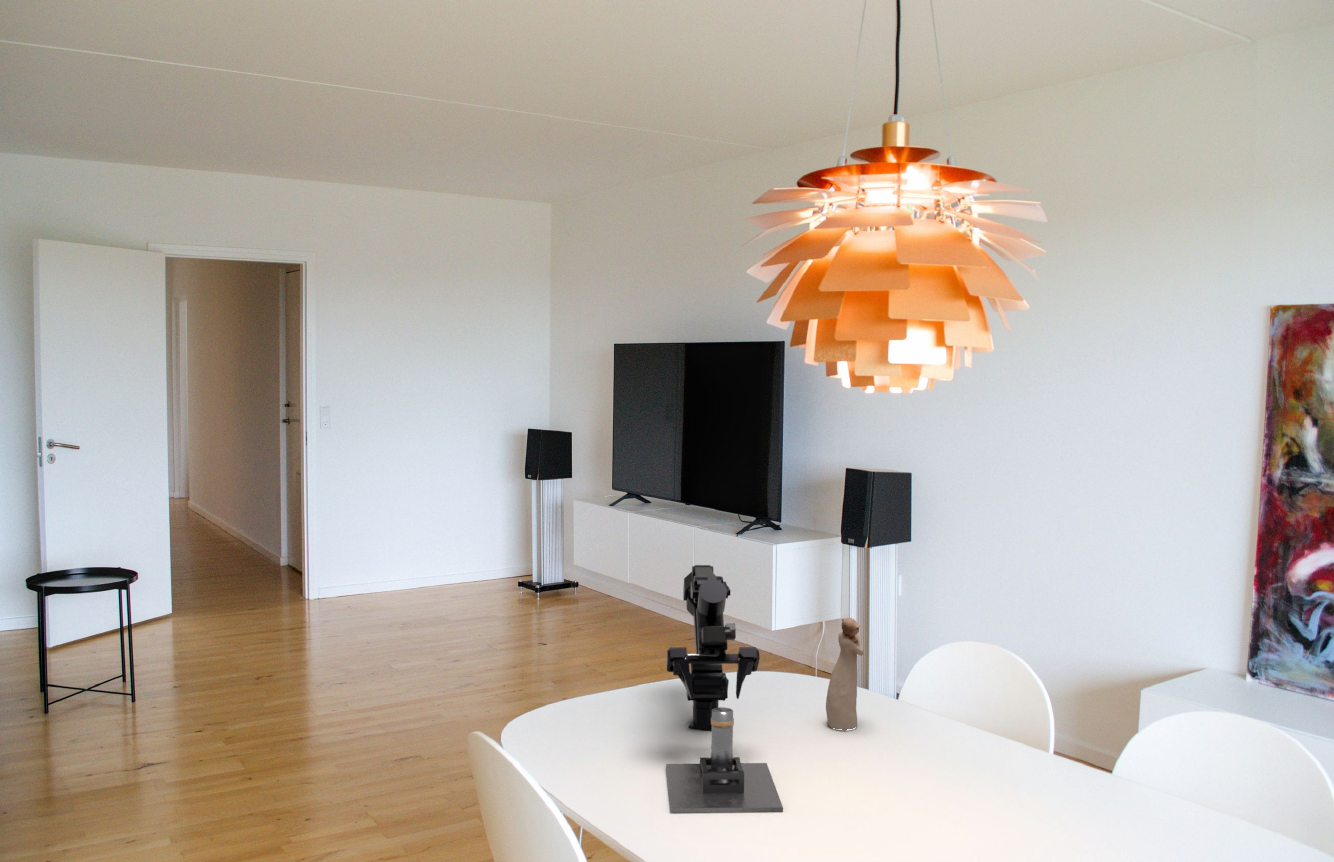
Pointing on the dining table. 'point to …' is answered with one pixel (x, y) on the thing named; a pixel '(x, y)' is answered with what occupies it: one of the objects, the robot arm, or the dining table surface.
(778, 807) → the collar stand
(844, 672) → the figurine
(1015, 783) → the dining table surface
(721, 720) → the grey metal cylinder
